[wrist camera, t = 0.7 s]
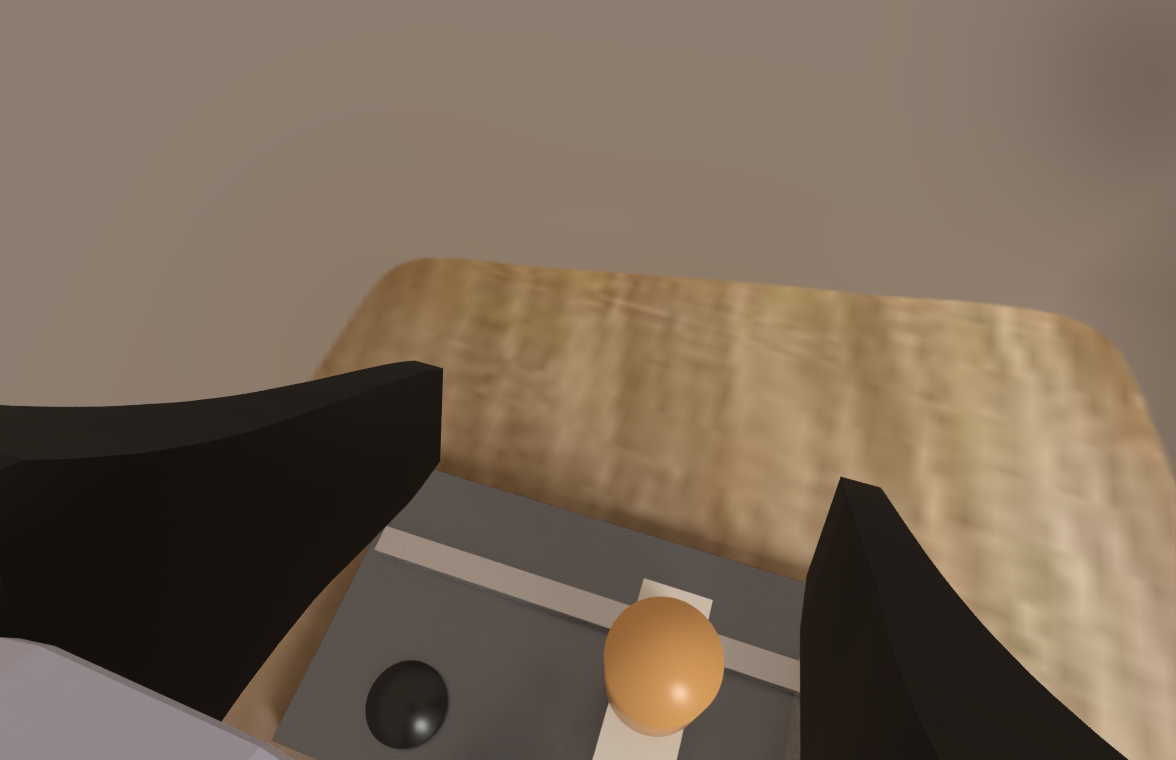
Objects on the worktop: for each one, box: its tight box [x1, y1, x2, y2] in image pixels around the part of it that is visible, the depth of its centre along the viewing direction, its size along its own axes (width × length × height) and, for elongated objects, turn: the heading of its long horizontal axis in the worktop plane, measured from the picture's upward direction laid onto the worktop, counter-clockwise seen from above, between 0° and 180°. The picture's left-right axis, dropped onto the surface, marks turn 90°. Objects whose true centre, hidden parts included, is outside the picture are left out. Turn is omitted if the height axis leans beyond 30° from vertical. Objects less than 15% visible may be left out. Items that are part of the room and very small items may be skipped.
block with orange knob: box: [593, 578, 724, 760], centre depth 20 cm, size 7×3×6 cm, turn 162°
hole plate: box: [271, 470, 806, 760], centre depth 23 cm, size 11×22×4 cm, turn 72°
